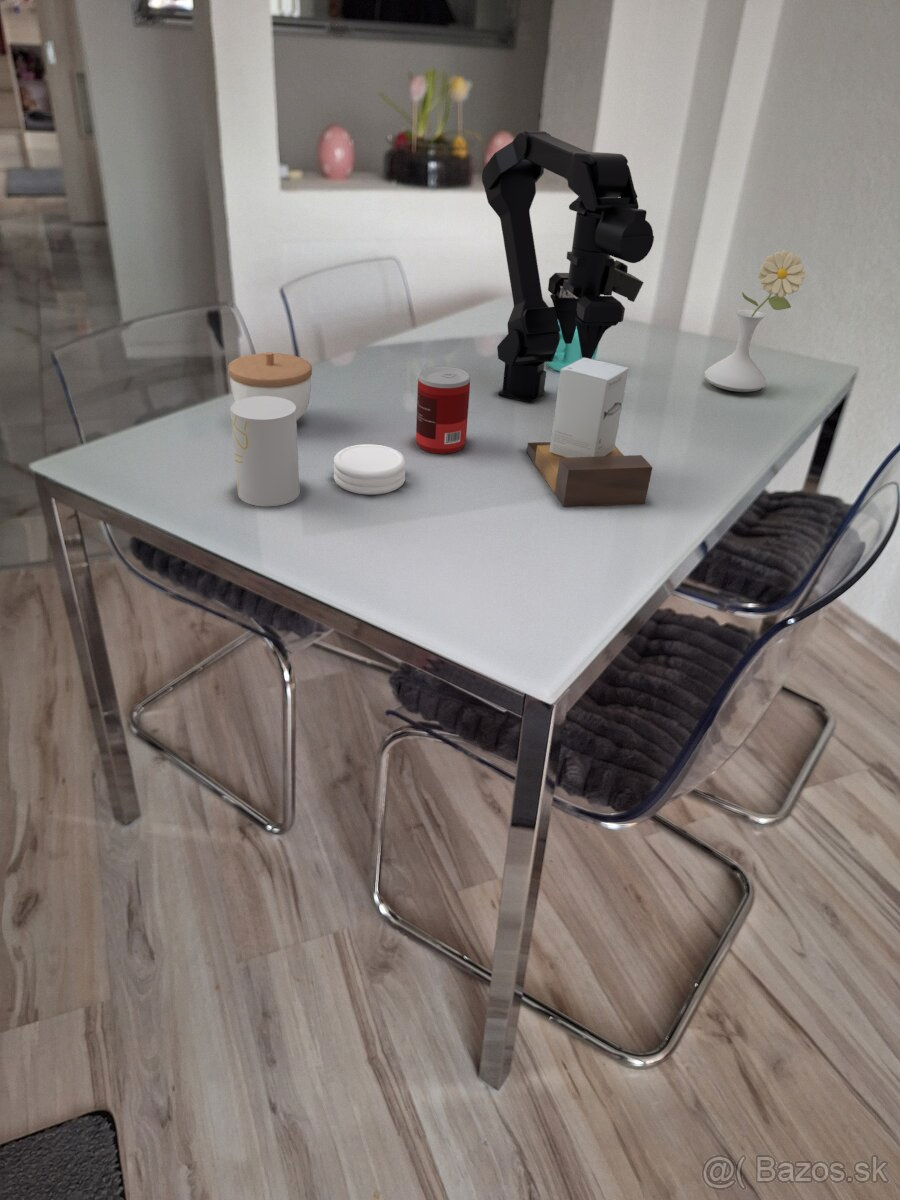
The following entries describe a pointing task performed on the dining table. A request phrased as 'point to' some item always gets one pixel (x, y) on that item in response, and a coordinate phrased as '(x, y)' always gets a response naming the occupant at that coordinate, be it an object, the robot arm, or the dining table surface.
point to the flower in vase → (738, 367)
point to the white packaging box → (588, 408)
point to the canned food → (442, 409)
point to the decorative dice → (567, 353)
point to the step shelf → (593, 477)
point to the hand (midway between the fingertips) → (577, 352)
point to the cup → (265, 450)
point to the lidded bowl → (272, 378)
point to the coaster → (369, 469)
